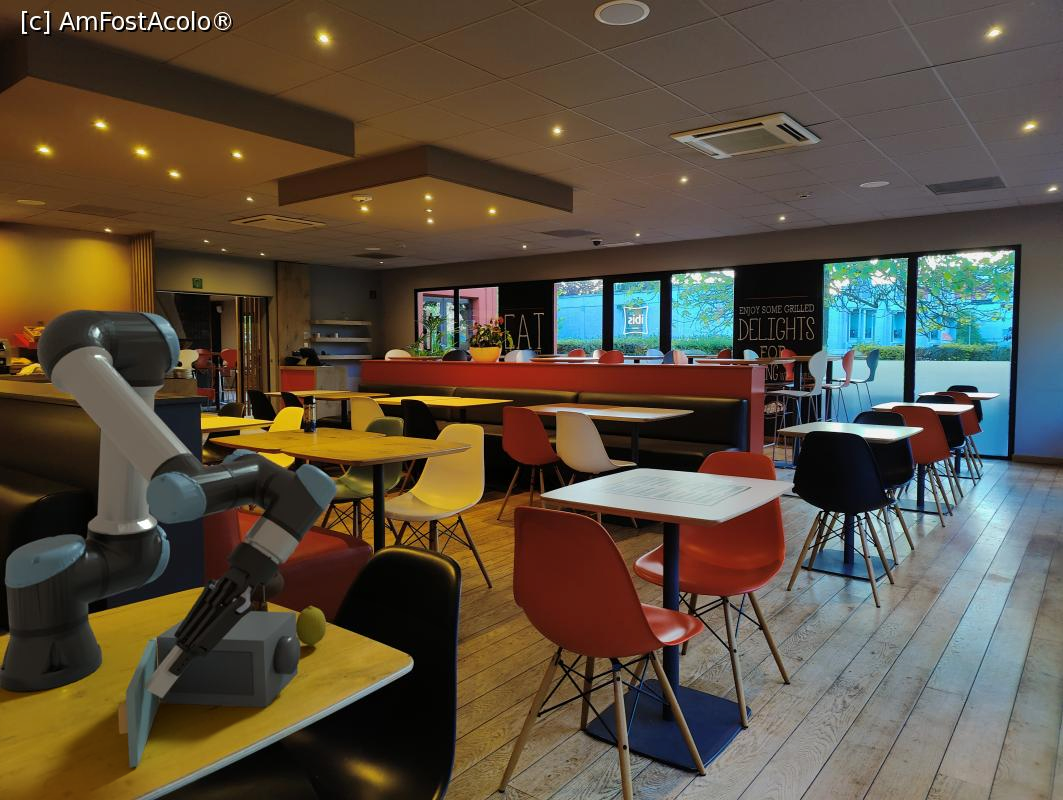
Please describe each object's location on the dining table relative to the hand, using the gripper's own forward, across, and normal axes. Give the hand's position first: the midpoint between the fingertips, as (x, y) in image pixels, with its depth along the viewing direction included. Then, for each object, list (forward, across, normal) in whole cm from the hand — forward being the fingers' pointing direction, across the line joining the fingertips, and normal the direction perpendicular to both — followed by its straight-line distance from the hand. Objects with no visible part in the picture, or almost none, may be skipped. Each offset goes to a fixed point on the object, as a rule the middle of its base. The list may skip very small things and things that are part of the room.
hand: (152, 692), depth 101 cm
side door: (+6, +5, -5) cm, 10 cm away
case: (-5, +10, -17) cm, 20 cm away
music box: (-12, +23, -24) cm, 36 cm away
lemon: (-17, +16, -29) cm, 38 cm away
